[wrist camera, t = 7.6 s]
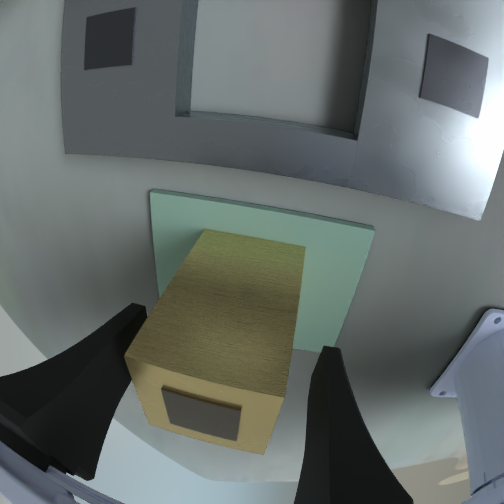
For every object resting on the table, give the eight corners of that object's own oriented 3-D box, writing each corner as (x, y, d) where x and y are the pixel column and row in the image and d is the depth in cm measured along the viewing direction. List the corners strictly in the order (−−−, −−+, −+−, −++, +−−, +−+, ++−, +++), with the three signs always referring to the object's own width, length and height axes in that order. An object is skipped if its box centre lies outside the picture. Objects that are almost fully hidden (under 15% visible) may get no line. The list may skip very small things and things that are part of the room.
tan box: (305, 246, 14) (284, 401, 7) (289, 320, 16) (263, 456, 10) (205, 228, 14) (122, 358, 8) (205, 302, 17) (148, 426, 10)
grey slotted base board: (504, -5, 6) (523, -9, 5) (466, 205, 11) (480, 222, 10) (92, -43, 8) (71, -48, 7) (84, 144, 14) (63, 154, 12)
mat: (374, 226, 13) (375, 231, 13) (330, 349, 17) (330, 354, 17) (153, 189, 14) (149, 192, 14) (164, 314, 19) (161, 318, 18)
